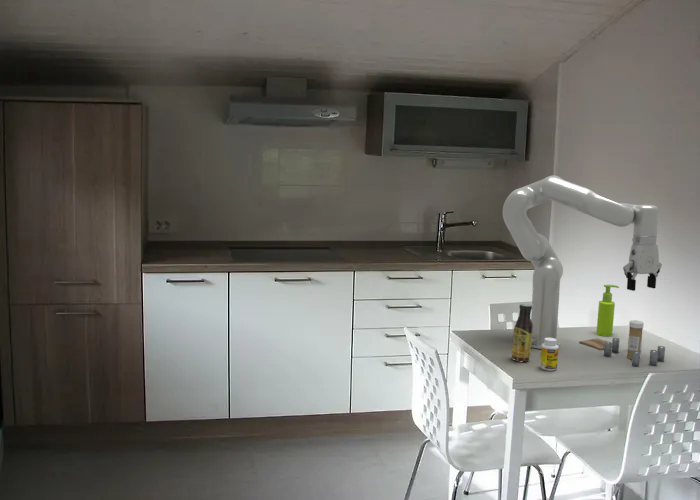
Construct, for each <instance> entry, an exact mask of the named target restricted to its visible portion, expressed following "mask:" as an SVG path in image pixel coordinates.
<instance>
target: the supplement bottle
mask: <svg viewBox="0 0 700 500" xmlns="http://www.w3.org/2000/svg"><path fill="white" fill-rule="evenodd" d="M557 341H558V340H557V338H556V339H555V338H545V339H544V343H543V344H542V346H541V349H540V358H539V359H540V360H539V368H540V369H541V370H544V371H548V372H549V371H551V372H553V370H554V371H556V370H557V369H558V361H559V348H560V347H559V346H558V345H557Z"/></svg>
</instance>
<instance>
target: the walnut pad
mask: <svg viewBox="0 0 700 500" xmlns="http://www.w3.org/2000/svg"><path fill="white" fill-rule="evenodd" d="M606 341H607V342H609V341H608V340H605V339H602V338H599V337H597V338H592V339H586V340H580V341H579V344H581V345H583V346H584V345H585V346H587V347H590V348H593V349H596V350H598V351H604V343H605V342H606ZM611 349H612V346H611Z"/></svg>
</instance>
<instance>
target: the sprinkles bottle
mask: <svg viewBox="0 0 700 500" xmlns="http://www.w3.org/2000/svg"><path fill="white" fill-rule="evenodd" d="M628 324H629V325H628V326H629V333H628V342H627V353H626V355H627V356H626V358H627V359H628V360H632V355H633V351H639V352H640V354H641V351H642V343H643V341H642V339H643V330H644V329H643V328H644V322H643V321H641V320H638V319H637V320H636V319H635V320H633V319H632V320H629V322H628Z"/></svg>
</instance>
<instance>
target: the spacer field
mask: <svg viewBox="0 0 700 500" xmlns="http://www.w3.org/2000/svg"><path fill="white" fill-rule="evenodd" d="M605 341H606V342H605V343H604V350H603V357H606V358H610V357H611V354H612V353H613V354H618V353H619V350H620V338H618V337H612V341H608V340H605ZM607 341H608V342H607ZM611 346H612V348H611ZM665 353H666V347H665V346H663V345H658V346H657V349H656V350H655V349H650V352H649V359H648V360H649V361H648V364H649V366H651V367H657V365H658V362H661V363H664V361H665V355H666V354H665ZM640 360H641V353H640V352H639V351H633V355H632V359H631V366H632V367H634V368H639V367H640Z"/></svg>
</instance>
